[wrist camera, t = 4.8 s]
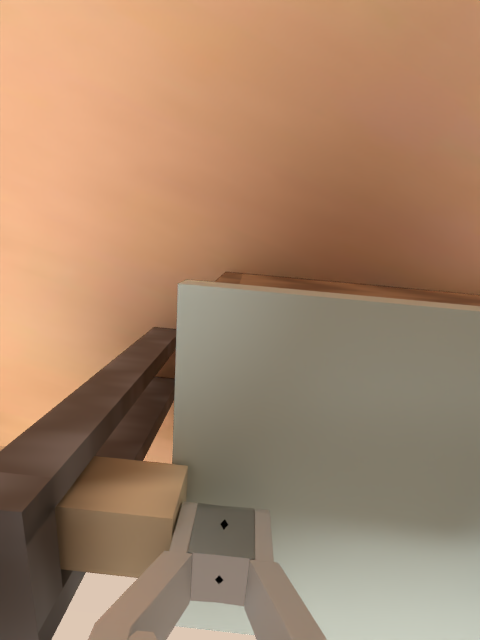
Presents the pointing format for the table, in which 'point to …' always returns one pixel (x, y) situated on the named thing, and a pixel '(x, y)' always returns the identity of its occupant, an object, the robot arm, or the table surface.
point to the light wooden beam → (119, 515)
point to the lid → (339, 450)
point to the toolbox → (104, 441)
